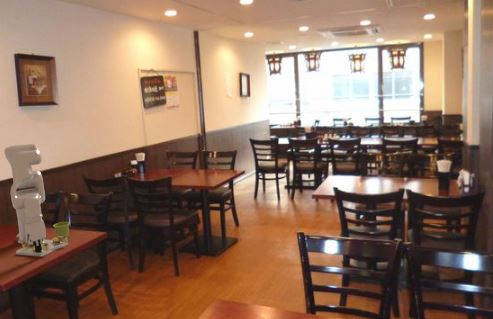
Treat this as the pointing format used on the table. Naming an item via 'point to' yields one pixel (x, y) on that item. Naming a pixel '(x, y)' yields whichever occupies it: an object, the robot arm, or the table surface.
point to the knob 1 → (43, 247)
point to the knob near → (26, 245)
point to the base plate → (52, 247)
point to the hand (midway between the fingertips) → (38, 252)
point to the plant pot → (62, 229)
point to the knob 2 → (60, 239)
